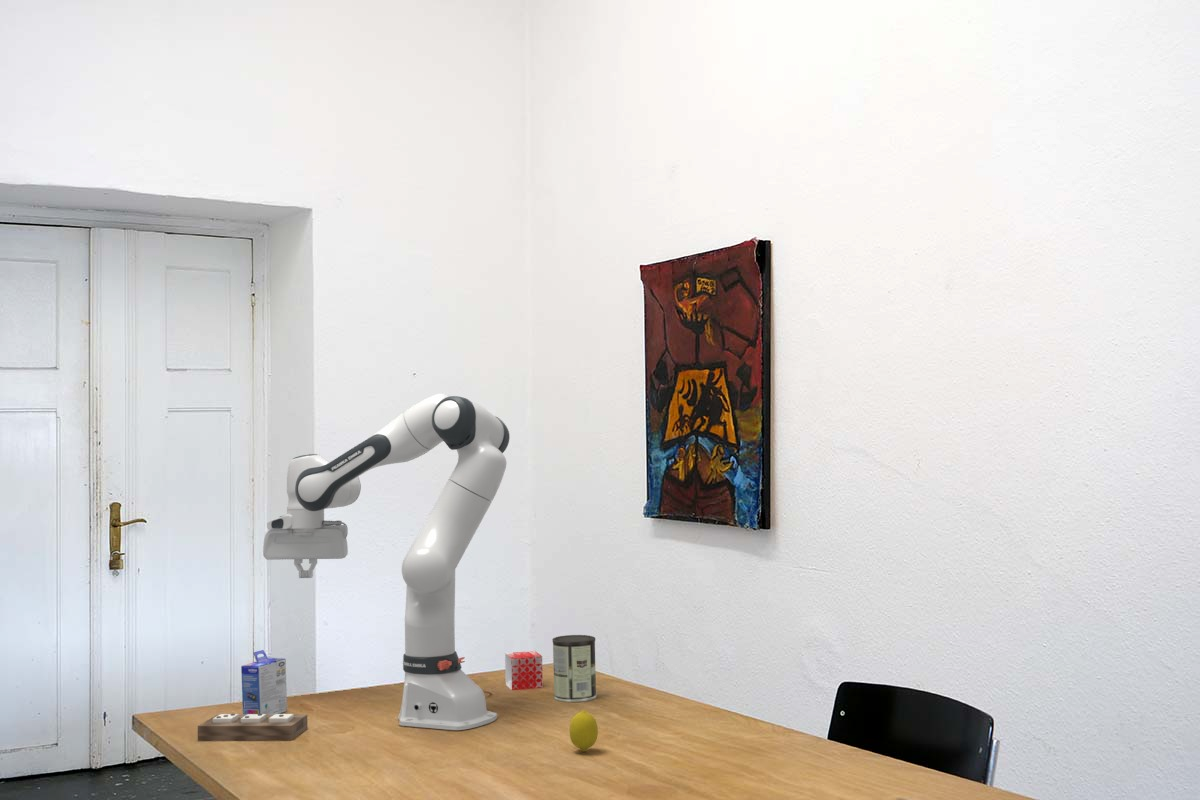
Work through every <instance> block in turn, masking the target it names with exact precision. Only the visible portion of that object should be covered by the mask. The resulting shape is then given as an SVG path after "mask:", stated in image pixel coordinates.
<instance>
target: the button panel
mask: <svg viewBox="0 0 1200 800" xmlns="http://www.w3.org/2000/svg"><path fill="white" fill-rule="evenodd" d="M293 714H294V713H293ZM218 715H219V714H216V715H214V716H212V717H210V718H209V719H207V720H206V721H204V722H202V723H201V724H199V725H197V741H198V742H201V741H202V742H203V741H204V742H206V741H207V742H209V741H210V742H211V741H212V742H213V741H214V742H215V741H216V742H217V741H218V742H219V741H220V742H221V741H223V742H226V741H228V742H231V741H238V742H239V741H240V742H243V741H251V742H252V741H293V740H295V739H296V738H297V737H298V736H300V735H301V734H302V733H304V732H305V731H306V730H307V729H308V713H307V714H304V713H303V714H301V713H300V714H294V719H293V720H291V721H290V722H288V723H269V718H270V717H272V716H273V715H266V719H265V720H264V721H262V722H261V723H241V718H243V717H244V716H246V715H243V714H239V719H238V720H236V721H234V722H233V723H213V718H215V717H216V716H218Z"/></svg>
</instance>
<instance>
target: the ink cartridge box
mask: <svg viewBox="0 0 1200 800" xmlns="http://www.w3.org/2000/svg"><path fill="white" fill-rule="evenodd" d="M258 655H263V656H260V657H259V656H258ZM253 656H254V659H255V661H253V662H249V663H247V664H244V665H241V667H240V668H241V670H240V671H241V692H242V694H241V697H242V701H241V702H242V715H247V714H266V715H275V714H284V713H285V712H287V711H288V697H287V667H286V666H287V663H286V660H287V659H286V658H282V657H268V656H267V653H266V651H265V650H264V649H261V650H257V651H253Z"/></svg>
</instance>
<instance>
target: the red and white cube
mask: <svg viewBox="0 0 1200 800" xmlns="http://www.w3.org/2000/svg"><path fill="white" fill-rule="evenodd" d="M504 658H505V659H504V664H505V666H504V667H505V669H504V670H505V672H504V673H505V676H504V677H505V685H506V686H507V687H508V688H509V689H510V690H511V691H521V690H534V689H535V690H536V689H543V688H544V683H543V682H544V681H543V680H544V679H543V674H544V673H543V655H542V654H540V653H538V651H536V650H529V651H517V652H516V651H515V652H505V653H504Z"/></svg>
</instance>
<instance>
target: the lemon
mask: <svg viewBox="0 0 1200 800" xmlns="http://www.w3.org/2000/svg"><path fill="white" fill-rule="evenodd" d="M598 731H599V729H598V723H597V721H596V719H595V717H594V716H593V715H592V713H589V712H588V711H586V710H584V709H583V710H580V711H579V712H578V713H575V715H574V716H573V717H572V718H571V721H570V724H569V738H570V741H571V743H572V744H573V745H574V746H575V747H576V748H578V749H579V750H581V752H583V753H584V752H586V751H587V750H588V749H590V748H591V747H593V746H594V745H595V743H596V742H597V740H598V735H599V734H598Z"/></svg>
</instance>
